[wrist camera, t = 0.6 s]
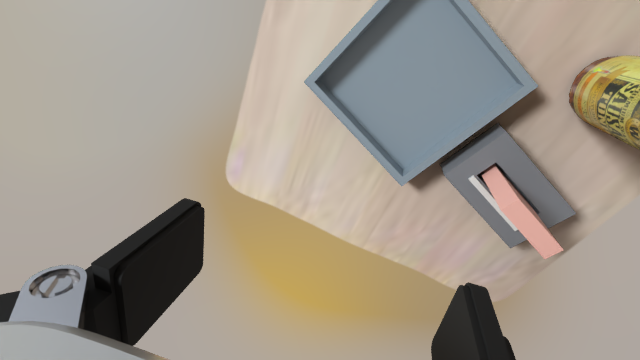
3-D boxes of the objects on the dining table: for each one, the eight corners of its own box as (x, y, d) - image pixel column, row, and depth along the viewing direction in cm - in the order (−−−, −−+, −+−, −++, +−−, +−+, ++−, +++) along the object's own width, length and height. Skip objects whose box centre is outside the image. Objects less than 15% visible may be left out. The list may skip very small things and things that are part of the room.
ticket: (490, 158, 35) (519, 199, 26) (524, 197, 35) (563, 250, 27) (477, 167, 35) (500, 210, 27) (510, 205, 36) (544, 259, 27)
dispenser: (498, 122, 34) (508, 132, 30) (562, 197, 35) (579, 215, 32) (440, 164, 37) (443, 177, 33) (501, 231, 38) (510, 250, 35)
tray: (423, -44, 30) (425, -52, 27) (527, 82, 32) (538, 86, 29) (311, 78, 37) (303, 81, 34) (401, 176, 38) (401, 186, 36)
